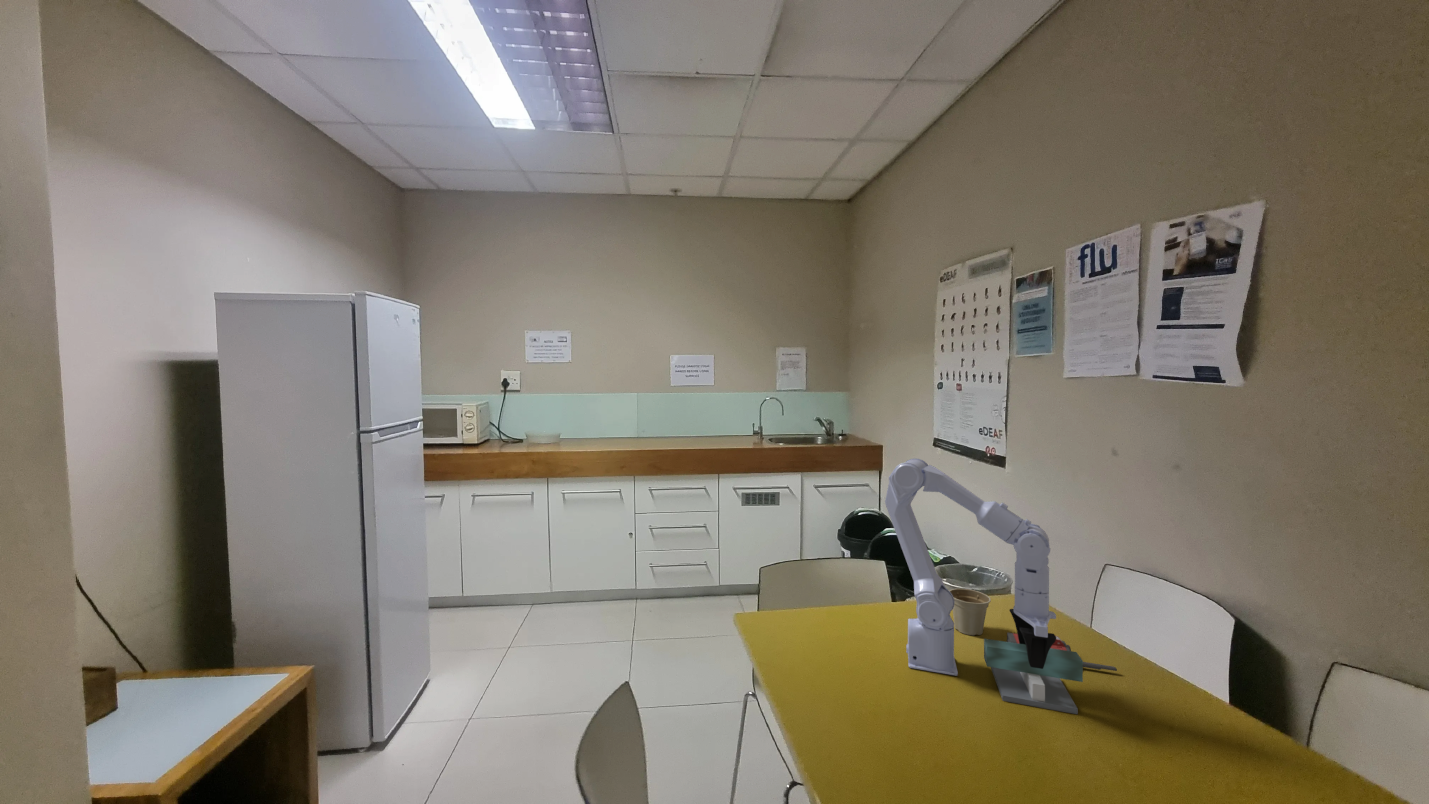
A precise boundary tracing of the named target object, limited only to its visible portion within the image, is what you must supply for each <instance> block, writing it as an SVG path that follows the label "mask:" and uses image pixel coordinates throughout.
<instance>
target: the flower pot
mask: <svg viewBox="0 0 1429 804" xmlns="http://www.w3.org/2000/svg"><path fill="white" fill-rule="evenodd" d="M949 591H950V592H951V594H952V595H953V597H954V601H955V604H954V608H953V609H952V616H953V622H954V630H957V631H958V632H959V633H961V634H964V635H968V636H975V635H978V636H981V635H982V634H983V632H984V628H985V620H986V615H987V610H988V609H987V608H989V604H990V603H991V600H992V599H991V597H990V596H989V595H988V594H986V593H984V592H980V591H978V590H974V589H969V588H968V589H967V588H953V589H950V590H949Z"/></svg>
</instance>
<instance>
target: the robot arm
mask: <svg viewBox="0 0 1429 804" xmlns="http://www.w3.org/2000/svg"><path fill="white" fill-rule="evenodd" d="M887 486H888V487H887V490H886V495H885V498H884V499H885V500H884V502H885V503H884V504H885V508H886V511H887V512H888V516H889V517H890V521H891V523H892V526H893V528H894V529H893V530H894V532H895V535H896V537H897V539H898V542H899V544H900V549H901V550H902V553H903V556H904V558H905V562H906V563H907V567H908V569H909V571H910V576H911V577H912V580H913V589H914V590H913V591H914V592H913V593H914V594H913V595H914V597H915V601H916V606H915V607H916V608H915V609H916V610H915V612H916V616H917V617H916V618H908V619H907V643H906V649H905V650H906V654H907V658H908V659H907V660H908V663H907V664H908V667H909V668H910V669H915V670H921V671H925V672H926V671H927V672H933V673H938V674H944V675H950V676H956V677H957V676H959V673H958V668H957V664H956V659H955V624H954V619H952V617H951V613H952V612H953V608H954V604H955V601H954V597H953V595H952V594H951V592H950V590H949V589H948V588H947V587H946V585H945V584H944V581H943V579H942V578H941V576H940V575H939V574H938V573H937V571H936V569H935V566H934V563H933V560H932V558H931V555H930V553H929V549H928V547H927V544H926V542H925V539H924V536H923V533H922V532H921V528H920V526H919V524H918V521H917V518H916V516H915V513H914V511H913V508H912V507H913V506H912V505H911V503H912V502H913V501H914V499H915V496H916V495H917V493H918V491H919V490H920V489H921V488H922V487H923V490H922V491H923V492H926V493H927V492H929V493H930V492H931V493H941V494H942V495H944V496H945V497H947V498H948V499H950V500H951V501H953V502H955V503H957V504H958V505H959V506H961V507H963V508H965V509H966V510H967V511H969V512H971V513H972V514H974V515H975V517H976V521H977V524H978V525H980V526H981V527H983V528H984V529H986V530H987V531H988V532H990V533H992V534H993V535H994V536H995V537H996V536H997V538H998V539H1000V540H1001V541H1003V542H1005V543H1006V544H1009V545H1012V546H1013V549H1014V551H1015V554H1016V558H1015V563H1014V605H1013V608H1009V612H1010V615H1011V617H1012V619H1013V622H1014V624H1015V628H1016V634H1018V639H1019V644H1025V645H1026V648H1027V655H1028V661H1029V664H1030V666H1031V667H1033V668H1040V669H1043V667H1044V665H1045V661H1046V658H1047V654H1048V652H1049V650H1050V648H1051V646H1052V645H1053V644H1054V643H1055V641H1056V636H1057V635H1056V634H1054V633H1053V632H1052V633H1050V632H1048V631H1049V628H1048V625H1049V623H1050V619H1053V620H1056V619H1057V615H1056V613H1055V612H1054V611H1051V610H1050V568H1049V562H1050V561H1049V560H1050V559H1049V557H1048V556H1049V555H1050V553H1051V548H1050V539H1049V536H1048V534H1047V532H1046V531H1045V530H1044V529H1043V528H1042V527H1040V525H1038V524H1034V523H1032V521H1030V520H1029V519H1028V518H1026V519H1023V518H1022V517H1020V516H1019V515H1017V514H1016V513H1014V512H1012V511H1011V510H1009V509H1008V507H1009V505H1007V504H1006V503H1005V502H1001V503H999V502H998V501H996V500H993V501H992V500H991V501H985V500H983V499H981V498H980V497H979V496H978V495H976V494H975V493H973V492H972V491H970V490H969V489H967V488H966V487H965V486H963V485H962V484H961V483H959V482H957V481H956V480H955V479H953V478H952V477H950V476H949V475H948V474H946V473H945V472H943V471H942V470H940V469H939V468H937V467H936V466H933V465H931V464H928V463H927V462H926V461H925V460H923V459H920V458H915V457H914V458H910V459H907V460H906V461H905V462H901V463H899V464H897V465H896V466H895V468H894V469H893V470H892V472H891V473H890V475H889V476H888V485H887Z"/></svg>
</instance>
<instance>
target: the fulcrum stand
mask: <svg viewBox="0 0 1429 804" xmlns="http://www.w3.org/2000/svg"><path fill="white" fill-rule="evenodd" d="M990 669H991V672H992V675H993V678H994V680H995V683H996V686H997V689H998V692H999V694H1000V696H1001V699H1002V702H1009V703H1013V704H1019V705H1024V706H1030V707H1035V708H1041V709H1045V710H1052V711H1057V712H1062V713H1069V714H1074V715H1078V713H1079V711H1078V710H1079V709H1078V706H1077V705H1076V704H1075V702H1074V700H1073V698H1072V697H1071V695H1070V693H1069V691H1068V689H1067V688H1066V686H1065V684H1064V683H1063V681H1062V679H1061V678H1055V677H1048V676H1042V675H1036V674H1030V673H1024V672H1018V671H1012V670H1006V669H999V668H993V667H990Z"/></svg>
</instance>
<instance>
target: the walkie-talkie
mask: <svg viewBox="0 0 1429 804" xmlns="http://www.w3.org/2000/svg"><path fill="white" fill-rule="evenodd" d="M1055 636H1056V641H1055V643H1054V644H1053V645H1052V646H1051V648H1052V649H1059V650H1066V651H1072V648H1071V646H1070V645H1069V644H1067V642H1065V640H1062V639H1061V638H1060V637H1059V636H1057V635H1055ZM1006 642H1011V643H1018V644H1019V639H1018V634H1017V633H1014V632H1006ZM1083 668H1087V669H1092V670H1093V669H1094V670H1098V671H1099V670H1107V671H1115V672H1117V671H1118V669H1117V667H1116V666H1113V665H1106V664H1101V663H1100V664H1099V663H1093V662H1088V661H1087V662H1086V661H1083Z"/></svg>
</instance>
